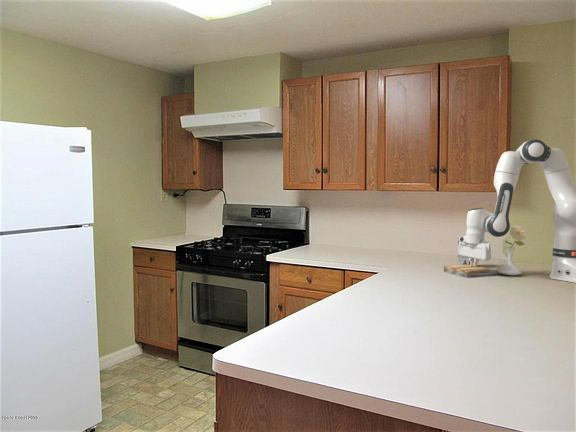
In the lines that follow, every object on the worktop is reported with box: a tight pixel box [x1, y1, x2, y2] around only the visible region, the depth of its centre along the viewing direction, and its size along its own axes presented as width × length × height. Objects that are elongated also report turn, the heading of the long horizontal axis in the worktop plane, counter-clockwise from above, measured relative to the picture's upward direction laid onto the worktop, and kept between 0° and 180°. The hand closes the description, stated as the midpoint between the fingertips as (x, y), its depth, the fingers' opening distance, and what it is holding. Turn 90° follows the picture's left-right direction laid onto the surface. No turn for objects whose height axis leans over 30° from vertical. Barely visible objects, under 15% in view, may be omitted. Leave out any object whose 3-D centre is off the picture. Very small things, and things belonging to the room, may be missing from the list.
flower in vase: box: [496, 225, 528, 276], centre depth 236 cm, size 13×11×25 cm
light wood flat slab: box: [450, 264, 490, 274], centre depth 239 cm, size 15×12×2 cm
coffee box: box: [457, 237, 475, 265], centre depth 260 cm, size 9×6×16 cm
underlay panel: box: [443, 265, 499, 278], centre depth 240 cm, size 17×19×3 cm
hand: (473, 266), depth 240 cm, fingers closed, pressing on light wood flat slab
